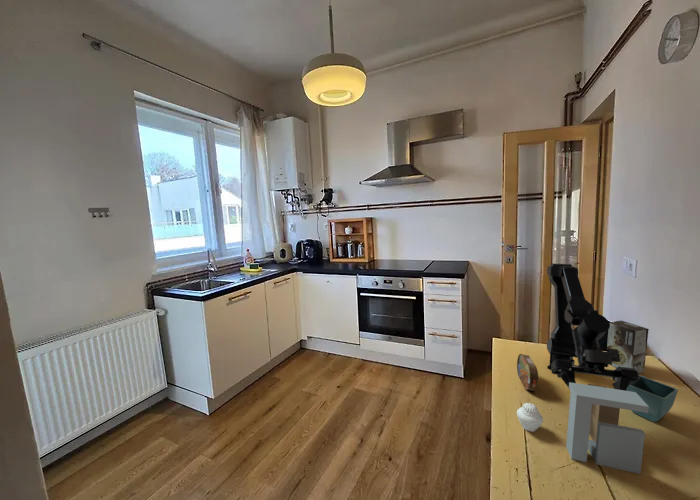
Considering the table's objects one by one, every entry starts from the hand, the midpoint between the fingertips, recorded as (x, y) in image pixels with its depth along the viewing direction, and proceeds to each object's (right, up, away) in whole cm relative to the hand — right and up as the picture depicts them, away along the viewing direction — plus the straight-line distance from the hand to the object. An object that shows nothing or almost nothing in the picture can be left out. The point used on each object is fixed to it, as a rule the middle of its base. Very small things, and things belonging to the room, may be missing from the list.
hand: (599, 404), depth 80 cm
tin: (-5, -5, +24) cm, 25 cm away
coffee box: (+36, -3, +33) cm, 49 cm away
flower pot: (+20, -7, +7) cm, 22 cm away
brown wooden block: (0, -8, 0) cm, 8 cm away
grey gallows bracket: (-5, -9, -7) cm, 13 cm away
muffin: (-16, -8, +3) cm, 19 cm away
